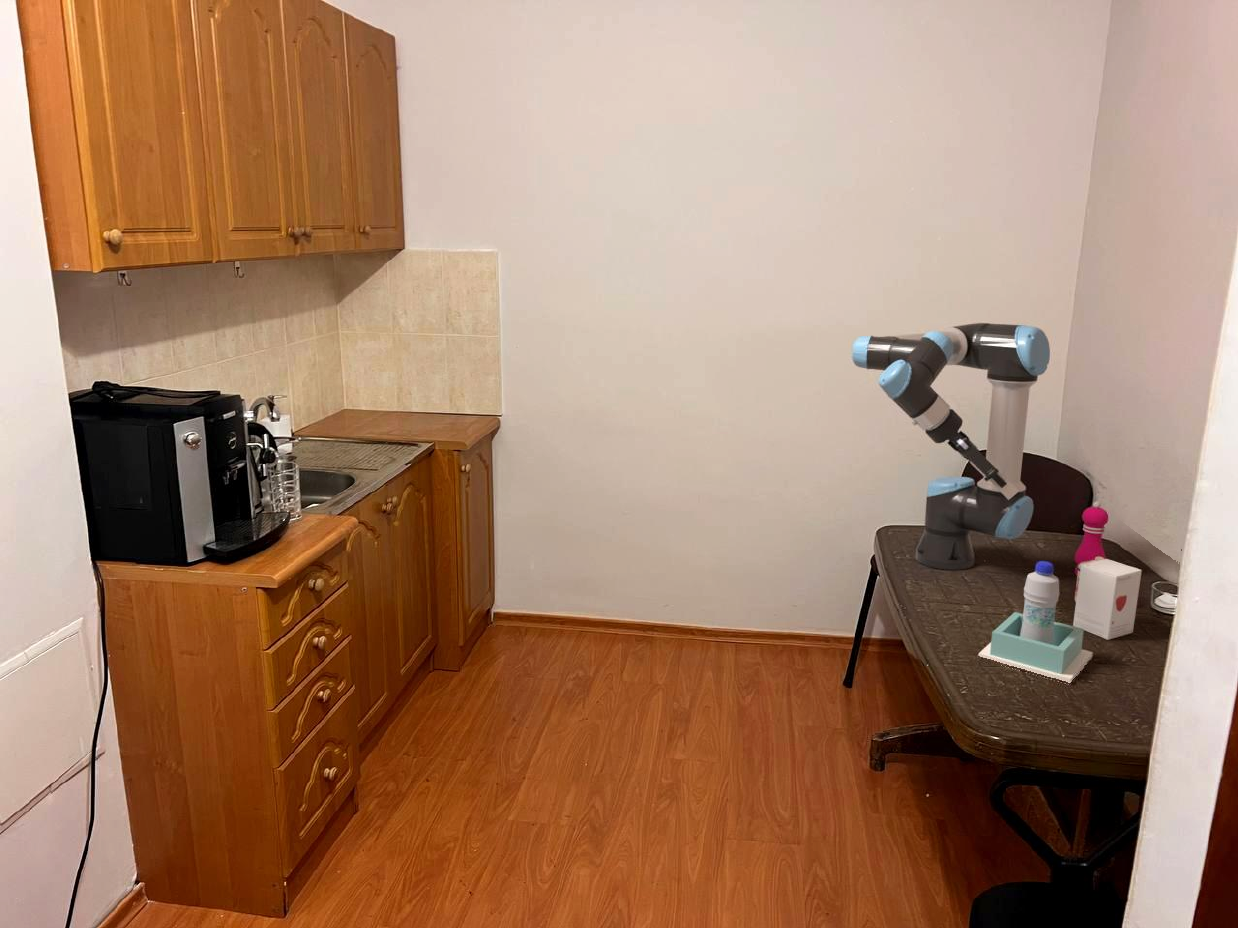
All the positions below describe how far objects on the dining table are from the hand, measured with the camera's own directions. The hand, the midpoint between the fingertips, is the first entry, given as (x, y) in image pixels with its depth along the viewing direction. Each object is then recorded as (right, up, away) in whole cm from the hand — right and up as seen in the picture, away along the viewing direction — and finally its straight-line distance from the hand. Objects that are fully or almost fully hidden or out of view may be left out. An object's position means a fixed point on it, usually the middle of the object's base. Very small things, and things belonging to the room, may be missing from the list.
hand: (1003, 486), depth 203 cm
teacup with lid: (+30, -29, +18) cm, 45 cm away
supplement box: (+24, -33, +4) cm, 41 cm away
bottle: (+3, -35, -10) cm, 36 cm away
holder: (+3, -36, -10) cm, 37 cm away
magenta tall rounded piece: (+38, -24, +38) cm, 59 cm away
